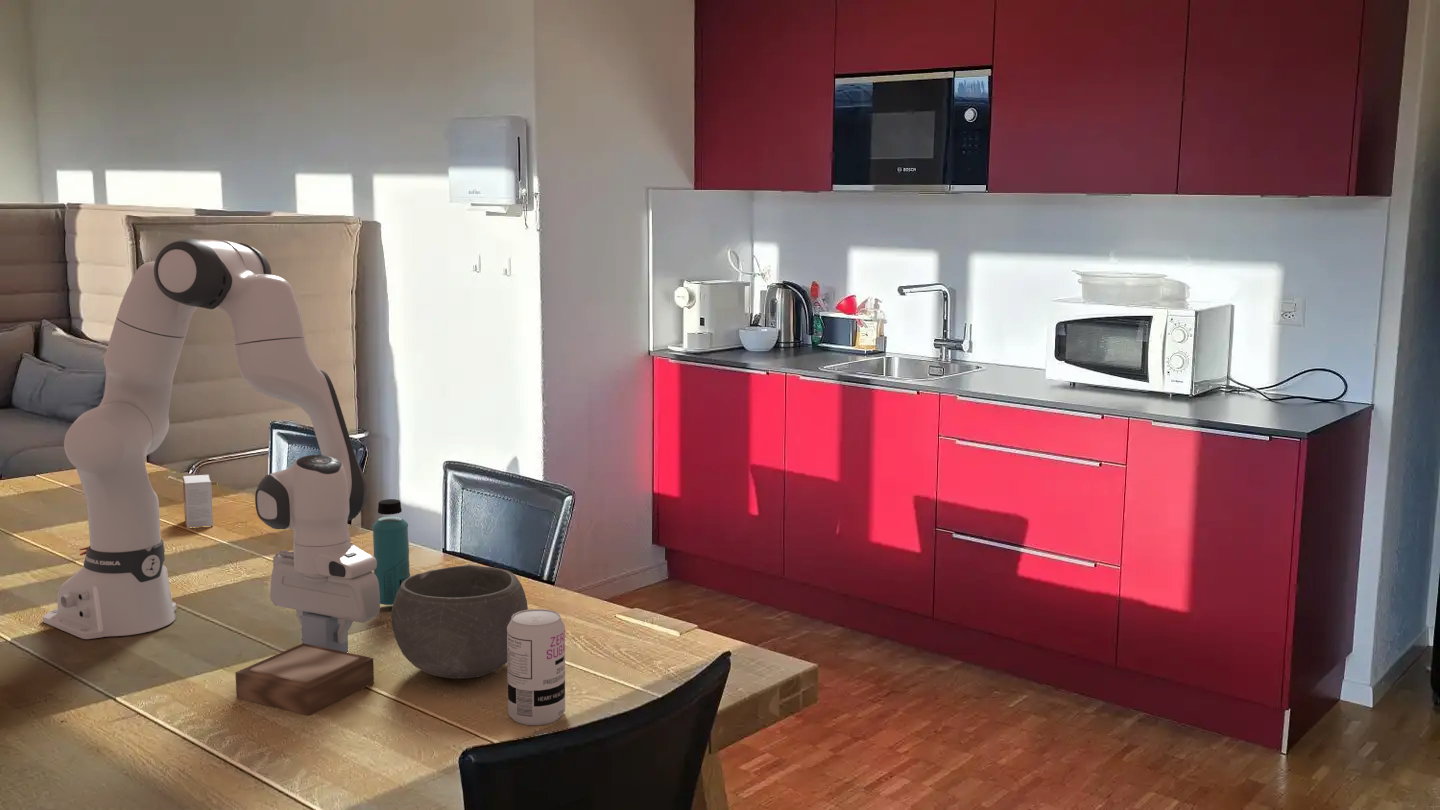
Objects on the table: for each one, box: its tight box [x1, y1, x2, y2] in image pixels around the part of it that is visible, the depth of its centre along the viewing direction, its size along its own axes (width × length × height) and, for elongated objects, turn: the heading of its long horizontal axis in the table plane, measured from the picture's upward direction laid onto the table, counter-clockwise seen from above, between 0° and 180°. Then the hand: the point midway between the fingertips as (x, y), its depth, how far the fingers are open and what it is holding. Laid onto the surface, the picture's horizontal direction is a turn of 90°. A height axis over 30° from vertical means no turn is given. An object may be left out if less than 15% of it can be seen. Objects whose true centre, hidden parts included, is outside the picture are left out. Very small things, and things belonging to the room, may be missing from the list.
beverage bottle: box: [372, 498, 411, 606], centre depth 230 cm, size 6×7×20 cm
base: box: [235, 643, 375, 716], centre depth 192 cm, size 14×14×4 cm
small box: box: [182, 474, 214, 529], centre depth 285 cm, size 8×6×10 cm
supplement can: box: [506, 608, 566, 726], centre depth 183 cm, size 8×8×15 cm
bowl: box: [390, 564, 529, 679], centre depth 200 cm, size 21×21×15 cm
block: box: [301, 612, 349, 653], centre depth 207 cm, size 5×5×7 cm
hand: (325, 639), depth 207 cm, fingers closed on block, 5 cm apart
